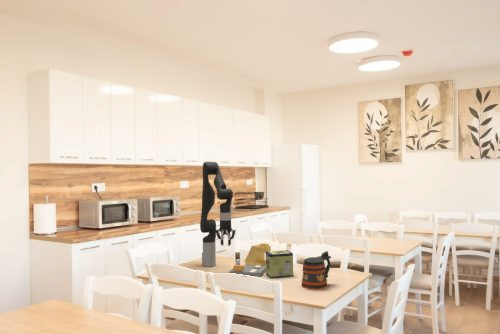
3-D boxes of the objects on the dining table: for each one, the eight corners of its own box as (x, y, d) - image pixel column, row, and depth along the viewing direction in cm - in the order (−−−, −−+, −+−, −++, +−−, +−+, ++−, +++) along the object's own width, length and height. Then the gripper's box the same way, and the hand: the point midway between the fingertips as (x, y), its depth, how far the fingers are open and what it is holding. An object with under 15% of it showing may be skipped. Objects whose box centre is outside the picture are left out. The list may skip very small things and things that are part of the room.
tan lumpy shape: (273, 266, 297) (273, 244, 297) (264, 269, 291) (263, 245, 291) (254, 262, 312) (254, 240, 312) (245, 264, 306) (244, 242, 306)
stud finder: (233, 270, 274) (233, 265, 274) (235, 269, 278) (235, 264, 278) (242, 271, 272) (242, 266, 272) (244, 269, 276) (243, 264, 276)
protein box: (265, 275, 274) (265, 251, 274) (288, 273, 278) (287, 249, 278) (270, 279, 264) (269, 254, 264) (293, 277, 267) (293, 252, 268)
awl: (234, 268, 282) (234, 253, 283) (236, 267, 286) (236, 252, 286) (239, 268, 282) (239, 253, 282) (240, 267, 285) (240, 252, 285)
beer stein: (320, 281, 256) (319, 248, 256) (338, 287, 244) (337, 252, 244) (296, 287, 245) (295, 252, 245) (313, 293, 233) (313, 256, 233)
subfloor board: (229, 276, 274) (229, 271, 274) (237, 269, 292) (237, 264, 292) (260, 277, 268) (260, 272, 268) (267, 270, 287) (267, 265, 287)
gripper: (213, 219, 276) (213, 246, 276) (234, 220, 272) (234, 246, 272) (217, 218, 283) (217, 244, 283) (237, 218, 279) (237, 244, 279)
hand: (225, 245), depth 277 cm, fingers open, 4 cm apart
